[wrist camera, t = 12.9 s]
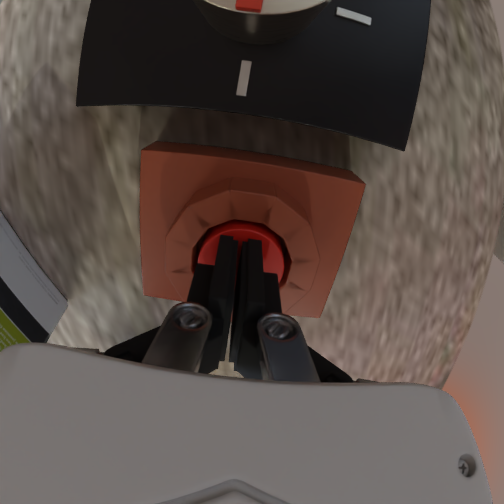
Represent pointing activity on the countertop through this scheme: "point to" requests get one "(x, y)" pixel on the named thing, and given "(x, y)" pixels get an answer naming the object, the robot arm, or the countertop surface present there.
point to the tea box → (25, 294)
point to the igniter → (244, 216)
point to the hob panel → (263, 65)
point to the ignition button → (242, 232)
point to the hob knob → (260, 18)
